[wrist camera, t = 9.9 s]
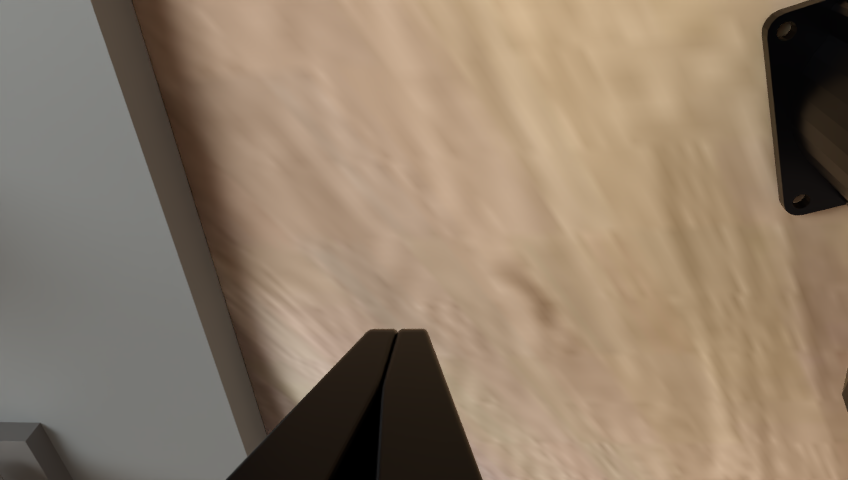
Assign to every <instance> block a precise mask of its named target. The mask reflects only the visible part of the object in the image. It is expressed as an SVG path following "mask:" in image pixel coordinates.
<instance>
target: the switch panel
mask: <svg viewBox="0 0 848 480" xmlns="http://www.w3.org/2000/svg"><path fill="white" fill-rule="evenodd" d="M266 437H267V434H266V431H265V428H264V425H263V422H262V418H261V415H260V412H259V409H258V406H257V402H256V399H255V396H254V393H253V389H252V386H251V383H250V380H249V377H248V373H247V370H246V367H245V364H244V361H243V357H242V354H241V351H240V348H239V344H238V341H237V338H236V335H235V332H234V328H233V325H232V322H231V319H230V316H229V312H228V309H227V306H226V303H225V299H224V296H223V293H222V290H221V287H220V283H219V280H218V277H217V274H216V271H215V267H214V264H213V261H212V258H211V254H210V251H209V248H208V245H207V242H206V238H205V235H204V232H203V229H202V226H201V222H200V219H199V216H198V213H197V209H196V206H195V203H194V200H193V197H192V193H191V190H190V187H189V184H188V181H187V177H186V174H185V171H184V168H183V164H182V161H181V158H180V155H179V152H178V148H177V145H176V142H175V139H174V136H173V132H172V129H171V126H170V123H169V119H168V116H167V113H166V110H165V107H164V103H163V100H162V97H161V94H160V91H159V87H158V84H157V81H156V78H155V74H154V71H153V68H152V65H151V62H150V58H149V55H148V52H147V49H146V46H145V42H144V39H143V36H142V33H141V29H140V26H139V23H138V20H137V17H136V13H135V10H134V7H133V4H132V1H131V0H0V474H1V475H2V477H3V478H4V480H226V478H227V477H228V476H229V475H230V474H231V473H232V472H233V471H234V470H235V469H236V468H237V467H238V466H239V465H240V464H241V463H242V462H243V461H244V460H245V459H246V458H247V457H248V456H249V454H250V453H251V452H252V451H253V450H254V449H255V448H256V447H257V446H258V445H259V444H260V443H261V442H262V441H263V440H264V439H265V438H266Z"/></svg>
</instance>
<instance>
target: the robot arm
mask: <svg viewBox="0 0 848 480" xmlns="http://www.w3.org/2000/svg"><path fill="white" fill-rule="evenodd" d="M785 22H791V29H790V31H789V32H788V33H787V34H786V35H784V36H782V37H777V29H778V28H779V27H780V25H781V24H783V23H785ZM762 41H763V50H764V60H765V69H766V79H767V88H768V98H769V107H770V117H771V126H772V136H773V145H774V155H775V164H776V174H777V183H778V193H779V201H780V203H781V205H782V206H783V208H784V209H785V210H786V211H787V212H788V213H790V214H792V215H804V214H808V213H812V212H816V211H821V210H825V209H829V208H833V207H837V206H841V205H845V204H847V205H848V0H809V1H805V2H802V3H799V4H796V5H793V6H790V7H787V8H784V9H781V10H778V11H776V12H775V13H773V14H771V15H770V16H769V17H768V18H767V19H766V21H765V23H764V25H763V27H762ZM801 194H805V196H804V198H803V199H802V200H801V201H799V202H796V203H793V200H794V199H795V198H796V197H797V196H799V195H801ZM842 396H843V399H844V402H845V405H846V408H847V411H848V370H847V374H846V379H845V383H844V388H843V392H842ZM226 480H483V479H482V477H481V474H480V471H479V469H478V466H477V463H476V461H475V458H474V455H473V453H472V450H471V447H470V445H469V442H468V439H467V437H466V434H465V431H464V428H463V426H462V423H461V420H460V418H459V415H458V412H457V410H456V407H455V404H454V402H453V399H452V396H451V394H450V391H449V388H448V386H447V383H446V380H445V378H444V375H443V372H442V369H441V367H440V364H439V361H438V359H437V356H436V353H435V351H434V348H433V345H432V343H431V340H430V337H429V335H428V332H427V331H426V330H425V329H401V330H400V331H399V332H397V331H396V330H395V329H371V330H369V331H368V332H366V333H365V334H364V336H363V337H362V338H361V339H360V340H359V341H358V342H357V343H356V344H355V345H354V346H353V347H352V348H351V349H350V350H349V351H348V352H347V353H346V354H345V355H344V356H343V357H342V358H341V360H340V361H339V362H338V363H337V364H336V365H335V366H334V367H333V368H332V369H331V370H330V371H329V372H328V373H327V374H326V375H325V376H324V377H323V378H322V379H321V380H320V381H319V382H318V384H317V385H316V386H315V387H314V388H313V389H312V390H311V391H310V392H309V393H308V394H307V395H306V396H305V397H304V398H303V399H302V400H301V401H300V402H299V403H298V404H297V405H296V406H295V408H294V409H293V410H292V411H291V412H290V413H289V414H288V415H287V416H286V417H285V418H284V419H283V420H282V421H281V422H280V423H279V424H278V425H277V426H276V427H275V428H274V429H273V430H272V432H271V433H270V434H269V435H268V436H267V437H266V438H265V439H264V440H263V441H262V442H261V443H260V444H259V445H258V446H257V447H256V448H255V449H254V450H253V451H252V452H251V453H250V454H249V456H248V457H247V458H246V459H245V460H244V461H243V462H242V463H241V464H240V465H239V466H238V467H237V468H236V469H235V470H234V471H233V472H232V473H231V474H230V475H229V476H228V477H227V478H226Z"/></svg>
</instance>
